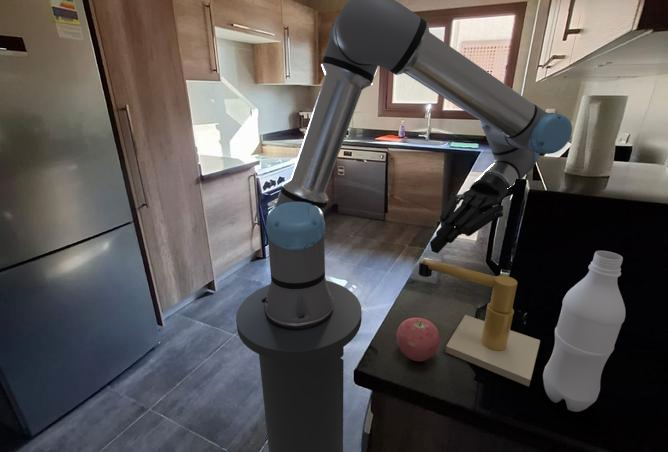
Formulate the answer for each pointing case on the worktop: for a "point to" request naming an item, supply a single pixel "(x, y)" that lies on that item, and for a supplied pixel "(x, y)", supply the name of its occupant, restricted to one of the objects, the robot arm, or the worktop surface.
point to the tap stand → (495, 346)
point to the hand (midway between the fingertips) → (433, 247)
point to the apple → (418, 339)
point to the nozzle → (501, 284)
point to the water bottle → (586, 334)
